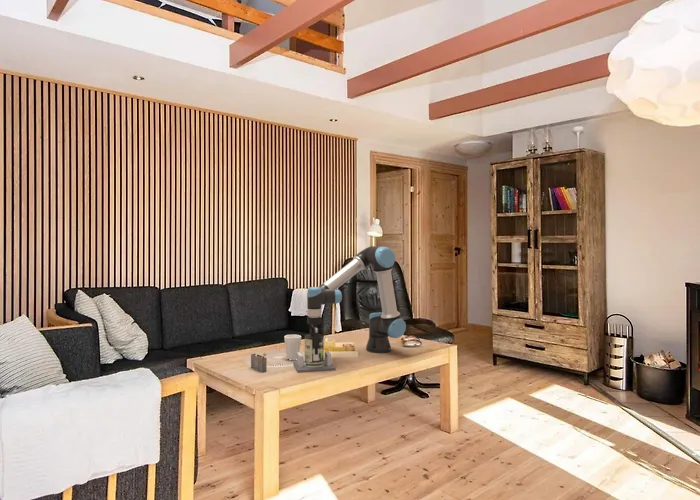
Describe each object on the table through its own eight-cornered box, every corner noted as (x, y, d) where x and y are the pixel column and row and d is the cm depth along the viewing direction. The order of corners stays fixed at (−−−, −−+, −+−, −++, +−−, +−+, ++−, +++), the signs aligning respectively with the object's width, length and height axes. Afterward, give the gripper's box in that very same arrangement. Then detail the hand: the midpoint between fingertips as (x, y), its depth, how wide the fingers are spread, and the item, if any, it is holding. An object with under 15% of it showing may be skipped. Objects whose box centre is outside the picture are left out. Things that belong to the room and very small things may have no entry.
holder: (329, 361, 266) (329, 348, 266) (335, 370, 250) (335, 356, 250) (293, 363, 262) (293, 350, 261) (297, 372, 245) (297, 358, 245)
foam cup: (286, 356, 277) (286, 334, 276) (302, 357, 276) (302, 334, 275) (282, 360, 267) (282, 337, 267) (298, 361, 266) (299, 338, 266)
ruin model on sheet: (267, 372, 247) (267, 353, 247) (262, 373, 245) (262, 354, 245) (256, 367, 255) (256, 349, 255) (251, 368, 253) (251, 350, 253)
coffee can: (325, 359, 260) (326, 333, 259) (320, 364, 250) (321, 338, 249) (307, 358, 262) (307, 333, 261) (302, 363, 252) (302, 337, 251)
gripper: (304, 313, 265) (304, 353, 266) (310, 320, 243) (310, 363, 244) (317, 312, 267) (317, 352, 267) (325, 319, 245) (325, 363, 246)
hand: (314, 357), depth 256 cm, fingers closed on coffee can, 10 cm apart
